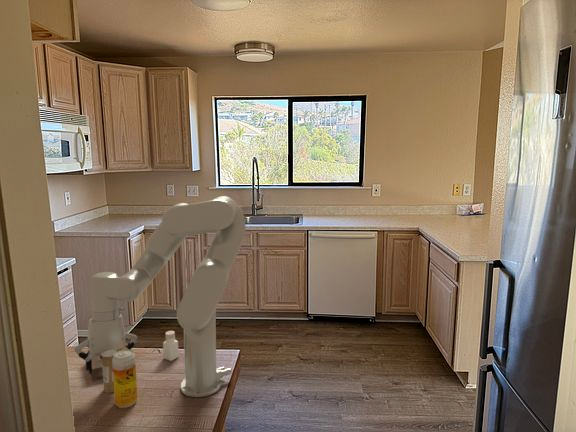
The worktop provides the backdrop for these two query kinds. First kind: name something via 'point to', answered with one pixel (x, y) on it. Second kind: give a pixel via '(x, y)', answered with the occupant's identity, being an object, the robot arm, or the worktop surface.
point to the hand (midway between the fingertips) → (107, 367)
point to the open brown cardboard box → (98, 366)
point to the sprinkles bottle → (108, 370)
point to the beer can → (124, 378)
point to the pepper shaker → (170, 346)
